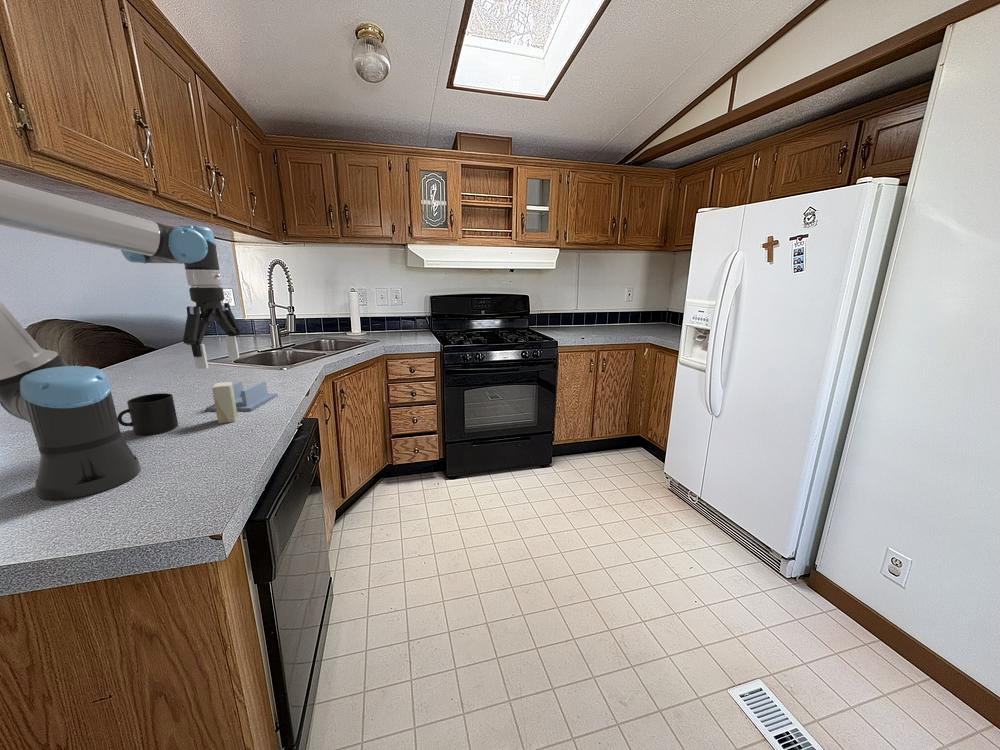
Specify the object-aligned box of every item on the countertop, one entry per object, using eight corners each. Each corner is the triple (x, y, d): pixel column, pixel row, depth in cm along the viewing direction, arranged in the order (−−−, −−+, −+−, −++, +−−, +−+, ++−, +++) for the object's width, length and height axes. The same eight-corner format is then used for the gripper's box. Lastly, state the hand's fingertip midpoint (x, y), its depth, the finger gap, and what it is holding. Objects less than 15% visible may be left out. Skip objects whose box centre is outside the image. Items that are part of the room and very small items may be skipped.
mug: (119, 432, 109) (111, 400, 107) (174, 420, 118) (168, 391, 115) (123, 441, 103) (115, 408, 101) (181, 428, 111) (175, 397, 109)
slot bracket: (251, 411, 126) (248, 392, 125) (206, 411, 126) (202, 392, 124) (277, 396, 142) (275, 379, 140) (237, 396, 141) (235, 379, 140)
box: (221, 418, 120) (215, 382, 117) (238, 416, 121) (232, 381, 119) (217, 424, 115) (211, 387, 112) (235, 422, 117) (229, 385, 114)
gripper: (185, 288, 97) (201, 373, 102) (247, 285, 121) (257, 354, 126) (154, 288, 97) (172, 373, 102) (222, 285, 121) (233, 354, 126)
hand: (219, 362), depth 114 cm, fingers open, 13 cm apart
